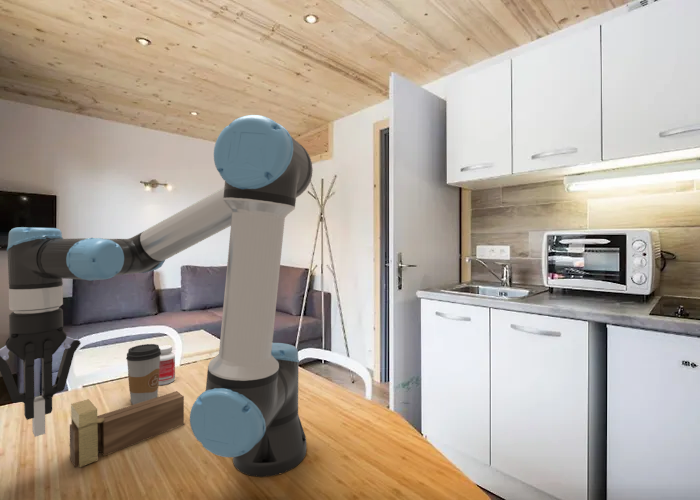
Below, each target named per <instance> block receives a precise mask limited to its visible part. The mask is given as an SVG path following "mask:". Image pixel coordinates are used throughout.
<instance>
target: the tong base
mask: <svg viewBox="0 0 700 500" xmlns="http://www.w3.org/2000/svg"><path fill="white" fill-rule="evenodd" d="M178 394H181V393H180V392H179V391H177V390H176V391H173V392H170V393H166V394H163V395H159V396H157V397H156V398H153V399H150V400H147V401H144V402H140V403H137V404H134V405H133V404H132V405H128V406H125V407H122V408H119V409H118V408H117V409H116V410H115V409H114V410H113V411H109V412H106V413H103V414H98V415H97V423H98V453H101V423H102V422H104V421H105V419H104V418H107V417H110V416H113V415H116V414H119V413H122V412H125V411H129V410H132V409H135V408H138V407H141V406H144V405H147V404H150V403H153V402H156V401H159V400H162V399H166V398H169V397H172V396H175V395H178ZM69 458H70V461H71V463H72V464H73V466H74V468H77V467H79V444H78V428H77V426H76V424H75V423H73V424H71V423H70V424H69Z"/></svg>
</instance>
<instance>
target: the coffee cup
mask: <svg viewBox="0 0 700 500" xmlns="http://www.w3.org/2000/svg"><path fill="white" fill-rule="evenodd" d="M159 346H160V345H159V344H155V343H146V344H140V345H135V346H132V347H130V348H128V350H127V351H128V352H127V353H126V359H125V360H126V362H127V372H128V374H127V375H128V376H127V378H128V388H129V390H128V391H129V399H130V403H131V404H132V405H134V404H137V403H140V402H144V401H147V400H150V399H153V398H156V397H159V396H158V393H159V386H160V385H159V370H160V369H159V365H160V355H161V352H160V351H161V350H160V348H159Z"/></svg>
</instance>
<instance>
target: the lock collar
mask: <svg viewBox="0 0 700 500" xmlns="http://www.w3.org/2000/svg"><path fill="white" fill-rule="evenodd" d="M70 409H71V410H70V414H71V415H70V418H71V420H70V421H71V423H70V424H73V423H75V424H76V426H77V428H78V444H79V466H78V467H79V468H82V467H84V466H86V465H90V464H92V463H94V462H97V461H99V452H98V423H97V416H98V407H96V406H95V405H94V404H93V402H92V401H91V400H90V398H87V399H84V400H81V401H77V402H73V403H71V404H70Z"/></svg>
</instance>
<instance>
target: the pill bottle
mask: <svg viewBox="0 0 700 500" xmlns="http://www.w3.org/2000/svg"><path fill="white" fill-rule="evenodd" d="M158 346H159V348H160V350H161V351H160V352H161V355H160V365H159V369H160V370H159V385H158V386H163V385H169V384H172V383H173V382H174V381H175V380H176V354H175V353H174V352H173V346H172V345H170V344H168V345H167V344H166V345H165V344H164V345H158Z"/></svg>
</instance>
